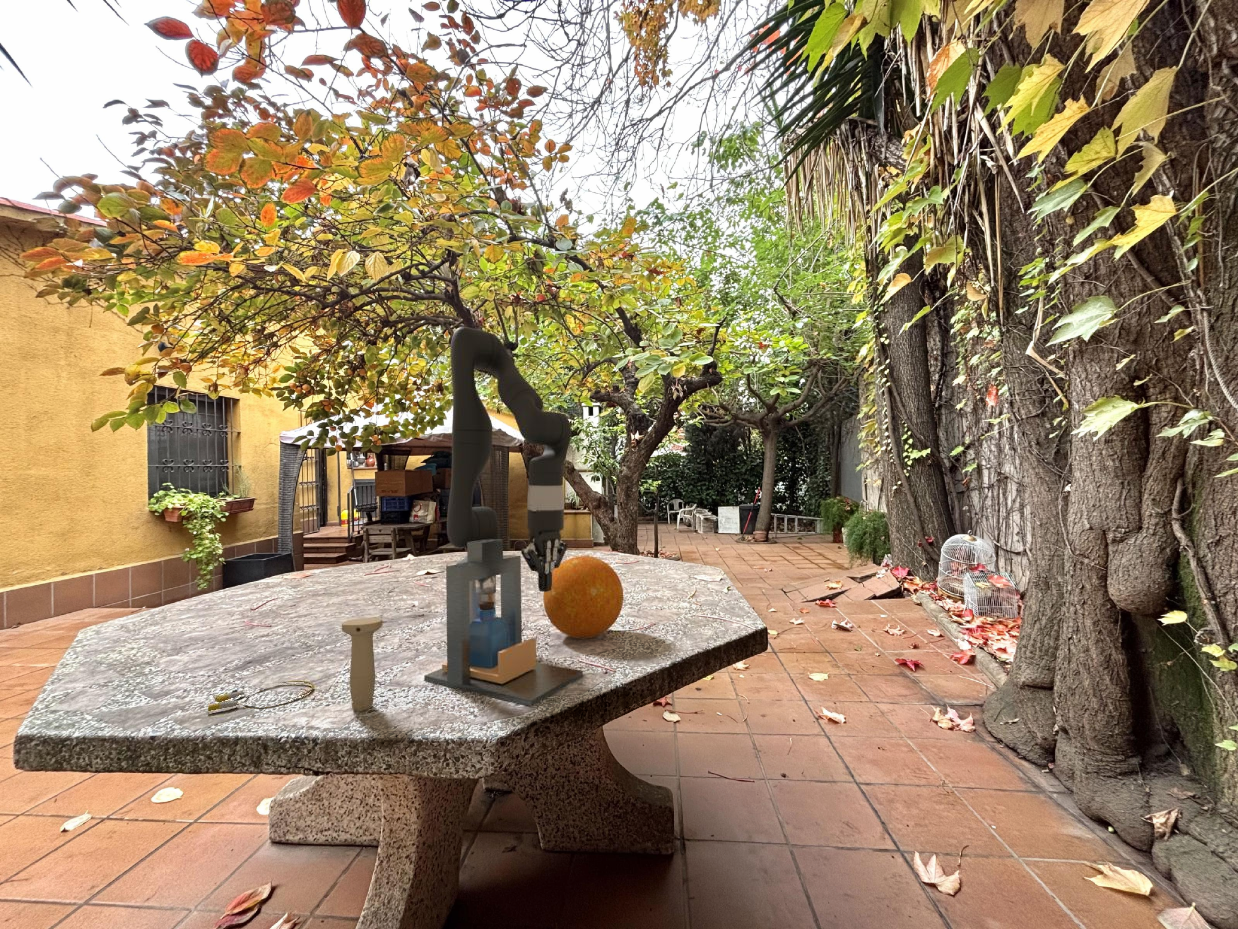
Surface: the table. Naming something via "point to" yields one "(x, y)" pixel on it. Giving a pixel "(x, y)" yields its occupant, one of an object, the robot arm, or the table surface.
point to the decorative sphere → (583, 597)
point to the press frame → (483, 568)
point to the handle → (362, 660)
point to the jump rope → (233, 695)
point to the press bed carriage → (508, 663)
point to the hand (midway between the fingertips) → (545, 590)
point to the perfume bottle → (487, 637)
